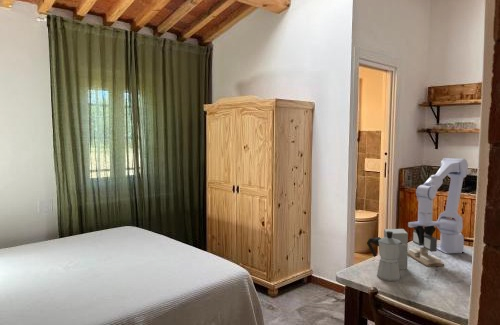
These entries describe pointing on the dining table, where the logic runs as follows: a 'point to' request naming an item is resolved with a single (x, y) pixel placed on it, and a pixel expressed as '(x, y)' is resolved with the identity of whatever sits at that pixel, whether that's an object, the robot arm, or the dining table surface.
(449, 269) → the dining table surface
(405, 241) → the skincare box
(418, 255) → the display stand
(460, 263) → the dining table surface
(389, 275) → the coffee maker
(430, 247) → the grey upright panel
